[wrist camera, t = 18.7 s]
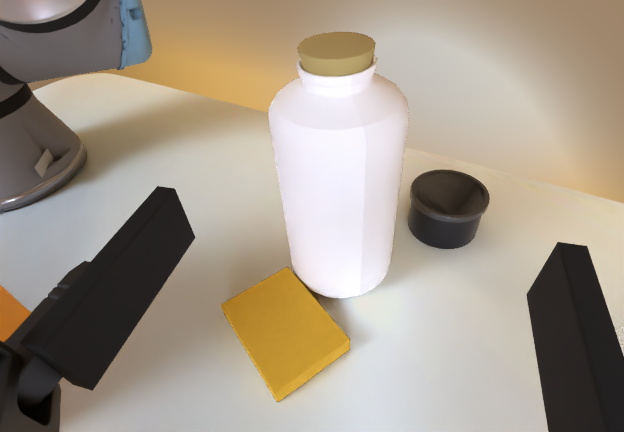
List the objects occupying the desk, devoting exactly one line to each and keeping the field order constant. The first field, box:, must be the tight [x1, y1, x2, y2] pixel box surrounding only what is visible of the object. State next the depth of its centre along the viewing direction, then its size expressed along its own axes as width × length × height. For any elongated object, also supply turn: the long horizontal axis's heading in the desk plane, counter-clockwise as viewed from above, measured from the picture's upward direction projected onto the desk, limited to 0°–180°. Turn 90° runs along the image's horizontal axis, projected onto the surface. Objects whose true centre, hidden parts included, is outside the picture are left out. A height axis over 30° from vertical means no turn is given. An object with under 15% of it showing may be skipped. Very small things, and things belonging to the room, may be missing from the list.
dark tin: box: [408, 170, 490, 249], centre depth 33 cm, size 6×6×4 cm
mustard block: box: [221, 267, 350, 402], centre depth 27 cm, size 8×6×2 cm
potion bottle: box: [268, 32, 409, 299], centre depth 25 cm, size 8×8×18 cm
